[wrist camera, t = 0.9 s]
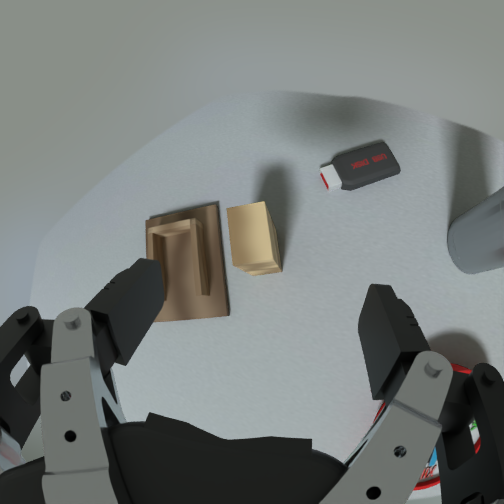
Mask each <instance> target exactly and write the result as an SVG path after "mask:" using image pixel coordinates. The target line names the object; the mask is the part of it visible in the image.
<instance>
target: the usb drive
mask: <svg viewBox="0 0 504 504" xmlns="http://www.w3.org/2000/svg"><path fill="white" fill-rule="evenodd" d="M400 171H401V170H400V166H399V164H398V162H397V161H396V159H395V157H394V155H393V154H392V152H391V150H390V149H389V147H388V146H387V144H386V143H384V142H381V143H378V144H374V145H371V146H368V147H364V148H361V149H358V150H355V151H351V152H348V153H345V154H342V155H339V156H337V157H336V158H334V159H333V160H332V162H331V165H328V166H325V167H322V168H320V175H321V177H322V179H323V181H324V183H325V185H326V187H327V190H328V192H330V191H333V190H336V189H338V188H341V189H342V190H350V191H351V190H354V189H357V188H360V187H363V186H365V185H368V184H371V183H374V182H377V181H380V180H382V179H385V178H388V177H391V176H394V175H397V174H399V173H400Z"/></svg>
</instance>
